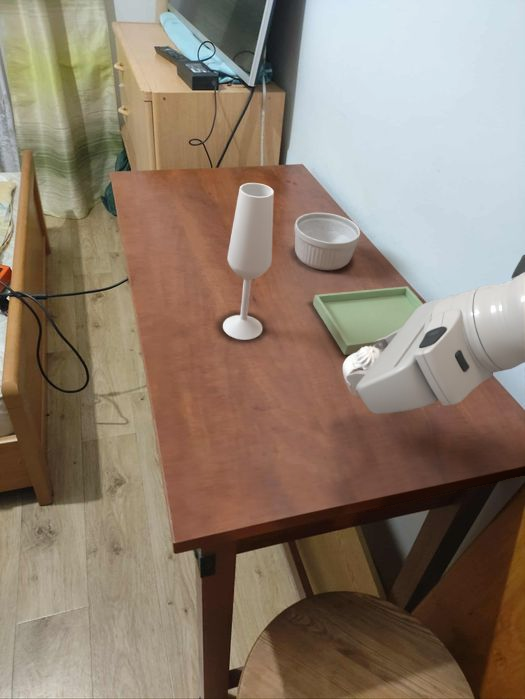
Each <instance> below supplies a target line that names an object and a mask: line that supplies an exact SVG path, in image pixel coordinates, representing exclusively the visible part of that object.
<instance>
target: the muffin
mask: <svg viewBox="0 0 525 699" xmlns="http://www.w3.org/2000/svg"><path fill="white" fill-rule="evenodd" d="M381 353H382V351H381V350H380V349H379V348H375V347H371V346H369V347H368V346H365V347H362V348H360V350H358V352H356V353H353V354H349V355H347V357H346V358H345V359H344V361H343V363H342V376H343V379H344V382H345V384H346V386H347V387H346V388H347V389H348V392H349V393H350V394H351V395H352V396H353V397H355V398H358V399H361V397H360V395H359V393H358V391H357V389H356V388H353V387H352V386H351V385H350V383H349V382H348V380H347V376H348V374H349V373H350V372H351V371H352V370H353V369H357V368H360V367H362V368H363V369H364V371H367V370H368V369H369V368H370V367H371V366H372V365H373V364H374V362H375V361H376V360H377V359H378V357H379V356H380V355H381Z"/></svg>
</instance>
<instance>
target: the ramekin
mask: <svg viewBox="0 0 525 699" xmlns="http://www.w3.org/2000/svg"><path fill="white" fill-rule="evenodd" d="M293 230H294V250H295V251H294V252H295V255H296V256H297V258H298V260H299V261H300V262H301V263H303V264H304V265H306V266H307V267H309V268H312V269H315V270H320V271H336V270H340V269H342V268H344V267H345V266H346V265H348V264H349V263H350V261H351V260H352V257H353V255H354V252H355V249H356V246H357V244H358V243H359V241H360V238H361V228H360V227H359V226H358V225H357V224H356V223H355V222H354V221H352V220H351V219H349V218H347V217H344V216H341V215H338V214H334V213H328V212H310V213H305V214H303V215H300V216H299V217H297V218H296V221H295V223H294V229H293Z"/></svg>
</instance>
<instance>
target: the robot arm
mask: <svg viewBox="0 0 525 699" xmlns="http://www.w3.org/2000/svg"><path fill="white" fill-rule="evenodd" d="M510 279H511V280H509V281H506V282H503V283H500V284H486V285H482V286H480V287H476V288H474V289H473V288H472V289H470V290H468V291H464V292H462V293H456V294H451V295H448V296H444V297H440V298H437V299H433V300H430V301H426V302H424V303H423V305H421V306H419V307H418V308H416V310H415V311H414V312H413V314H412V315H411V316H410V317H409V319H408V320H407V321H406V323H405V324H404V325H403V326H402V328H399V329H398V330H396V331H394V332H393V333H391V334H389V335H388V336H386V337H383V338H380V339H377V340H376V341H375V343H374V344H373V345H372V347H375V348H379V349H380V350H381V351H382V353H381V355H380V356H379V357H378V359H377V360H376V361H375V362H374V364H373V365H372V366H371V367H370V368H369V369H368V370H367V371H364V369H363V368H362V367H360V368H357V369H353V370H352V371H351V372H350V373H349V374H348V376H347V380H348V382H349V383H350V385H351V386H352V387H353V388H356V389H357V391H358V393H359V395H360V397H361V398H360V399H361V401H362V402H363V404H364V405H365V407H366V408H367V410H368V411H370V412H371V413H373V414H374V415H387V414H395V413H402V412H408V411H409V412H410V411H413V410H419V409H422V408H426V407H428V406H430V405H432V404H434V403H435V402H437V401H439V403H440V404H441V405H442V406H444V407H448V406H449V407H450V406H454V405H457V404H460V403H462V401H463V400H464V399H466V398H467V397H468V395H470V394H471V392H473V391H474V390H475V389H476V388H477V387H478V386H479V385H481V384H482V383H483V382H485V381H486V380H488V379H489V378H491V377H492V376H493V375H494V373H499V372H503V371H507V370H508V371H509V370H512V369H515V368H516V367H518V366H521V365H522V364H524V363H525V254H522V255H521V258H520V259H519V261H518V263H517V265H516V267H515V268H514V271H513V272H512V275H511V277H510Z"/></svg>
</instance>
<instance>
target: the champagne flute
mask: <svg viewBox="0 0 525 699" xmlns="http://www.w3.org/2000/svg"><path fill="white" fill-rule="evenodd" d="M274 193H275V191H274V189H273V188H272V187H270V186H269V185H266V184H265V183H264V184H263V183H257V182H247V183H246V182H245V183H243V184H242V185H240V186H239V189H238V193H237V194H238V195H237V200H236V205H235V211H234V212H235V213H234V217H233V218H234V219H233V222H232V228H231V235H230V240H229V247H228V251H227V258H226V259H227V263H228V265H229V267H230V268H231V270H232V271H233V272H234V274H236V275H237V276H238V277H240V278H241V279H243V283H242V293H241V303H240V314H235V315H231V316H229V317H227V318H226V319H225V320H224V321H223V324H222V329H223V331H224V332H225V333H226V335H228V336H229V337H230V338H231V337H232V338H233V339H236V340H242V341H243V340H245V341H246V340H248V341H249V340H252V339H255V338H257V337H259V336H260V335H261V334H262V333H263V325H262V323H261V322H260V321H259V320H258V319H257V318H255V317H253V316H249V315H248V313H249V305H250V295H251V286H252V281H254V280H256V279H257V278H259V277H262V276H263V275H265V273H266V272H267V271H268V270H269V269H270V267H271V266H272V263H273V262H272V261H273V229H274V228H273V227H274Z"/></svg>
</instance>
